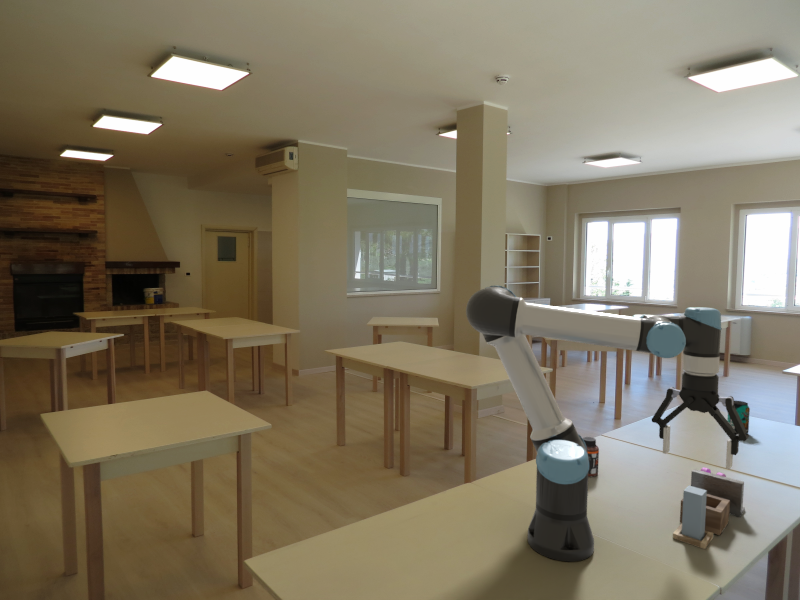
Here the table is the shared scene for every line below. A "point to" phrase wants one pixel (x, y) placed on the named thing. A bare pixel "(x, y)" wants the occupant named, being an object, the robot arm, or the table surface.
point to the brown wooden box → (714, 514)
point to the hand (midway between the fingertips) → (696, 459)
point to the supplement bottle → (592, 455)
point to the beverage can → (741, 414)
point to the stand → (692, 541)
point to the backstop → (721, 489)
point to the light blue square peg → (694, 512)
